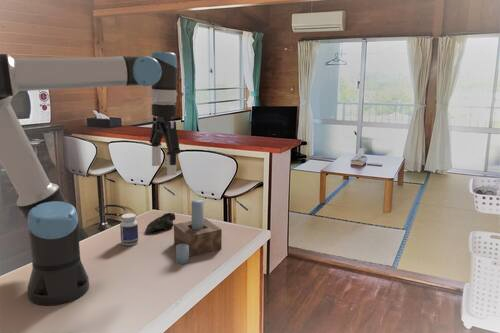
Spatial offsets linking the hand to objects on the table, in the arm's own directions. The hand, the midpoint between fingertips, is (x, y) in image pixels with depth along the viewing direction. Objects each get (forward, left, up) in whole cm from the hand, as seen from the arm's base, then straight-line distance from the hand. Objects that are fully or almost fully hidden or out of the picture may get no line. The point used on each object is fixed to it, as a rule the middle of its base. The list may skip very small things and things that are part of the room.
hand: (163, 170), depth 137 cm
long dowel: (+10, -3, -27) cm, 29 cm away
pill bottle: (-9, +11, -27) cm, 31 cm away
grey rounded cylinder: (+1, -11, -27) cm, 29 cm away
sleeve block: (+10, -3, -27) cm, 29 cm away
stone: (+5, +18, -28) cm, 33 cm away
